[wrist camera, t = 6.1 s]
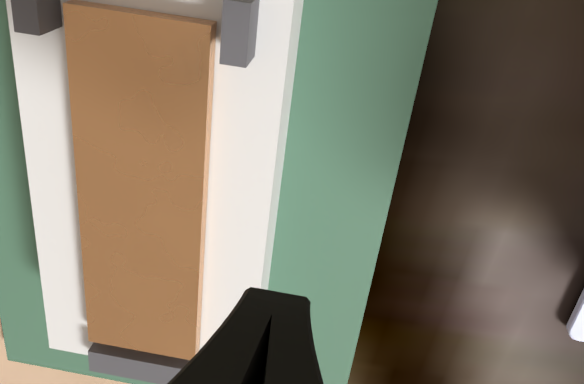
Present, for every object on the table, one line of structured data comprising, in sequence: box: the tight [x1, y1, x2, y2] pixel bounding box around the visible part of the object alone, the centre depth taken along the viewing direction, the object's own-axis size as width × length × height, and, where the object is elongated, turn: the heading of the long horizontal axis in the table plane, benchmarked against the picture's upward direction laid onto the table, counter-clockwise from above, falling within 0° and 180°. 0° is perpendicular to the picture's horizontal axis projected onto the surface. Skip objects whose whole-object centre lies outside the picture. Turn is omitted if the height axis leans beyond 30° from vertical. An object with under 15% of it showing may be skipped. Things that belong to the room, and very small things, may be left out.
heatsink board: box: [0, 0, 438, 384], centre depth 18 cm, size 16×26×5 cm, turn 173°
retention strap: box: [63, 0, 217, 360], centre depth 18 cm, size 4×12×1 cm, turn 173°
